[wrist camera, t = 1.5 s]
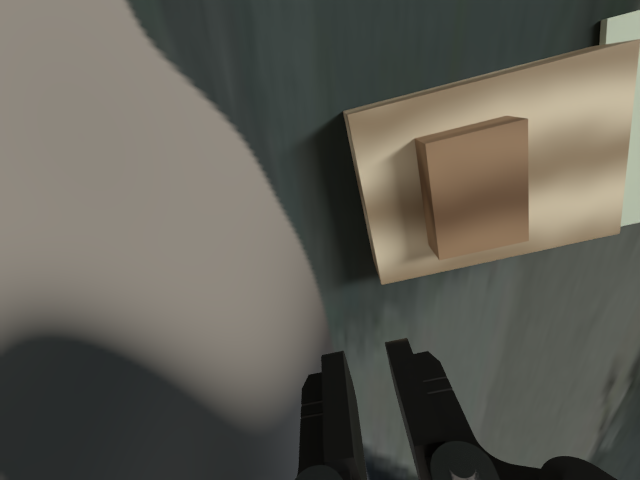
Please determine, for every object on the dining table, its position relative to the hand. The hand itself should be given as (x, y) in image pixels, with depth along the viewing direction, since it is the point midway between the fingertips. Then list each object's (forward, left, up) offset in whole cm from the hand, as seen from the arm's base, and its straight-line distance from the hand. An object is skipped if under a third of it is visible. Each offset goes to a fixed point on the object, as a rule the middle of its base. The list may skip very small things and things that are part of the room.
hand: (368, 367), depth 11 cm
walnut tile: (0, +9, -14) cm, 16 cm away
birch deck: (0, +11, -19) cm, 22 cm away
